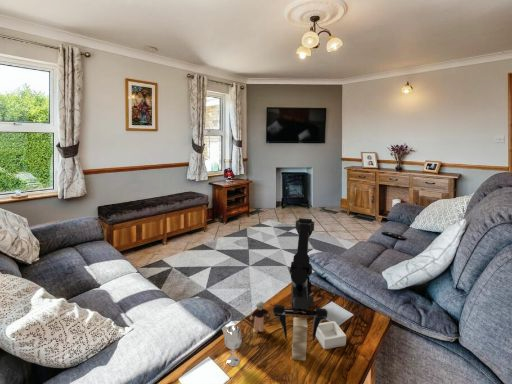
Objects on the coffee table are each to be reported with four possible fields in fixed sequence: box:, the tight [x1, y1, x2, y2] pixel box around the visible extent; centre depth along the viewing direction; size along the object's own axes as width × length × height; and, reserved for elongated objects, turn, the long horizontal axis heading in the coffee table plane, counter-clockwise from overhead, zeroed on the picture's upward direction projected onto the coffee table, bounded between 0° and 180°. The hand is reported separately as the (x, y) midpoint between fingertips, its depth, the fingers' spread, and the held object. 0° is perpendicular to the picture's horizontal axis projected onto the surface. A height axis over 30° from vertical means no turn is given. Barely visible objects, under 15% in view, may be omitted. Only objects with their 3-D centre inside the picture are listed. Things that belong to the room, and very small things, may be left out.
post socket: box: [315, 320, 347, 350], centre depth 107 cm, size 9×9×4 cm
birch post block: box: [291, 316, 309, 361], centre depth 98 cm, size 4×4×13 cm
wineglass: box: [224, 324, 243, 367], centre depth 95 cm, size 6×6×12 cm
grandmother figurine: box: [249, 300, 270, 334], centre depth 111 cm, size 8×4×13 cm, turn 117°
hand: (299, 339), depth 97 cm, fingers open, 9 cm apart
